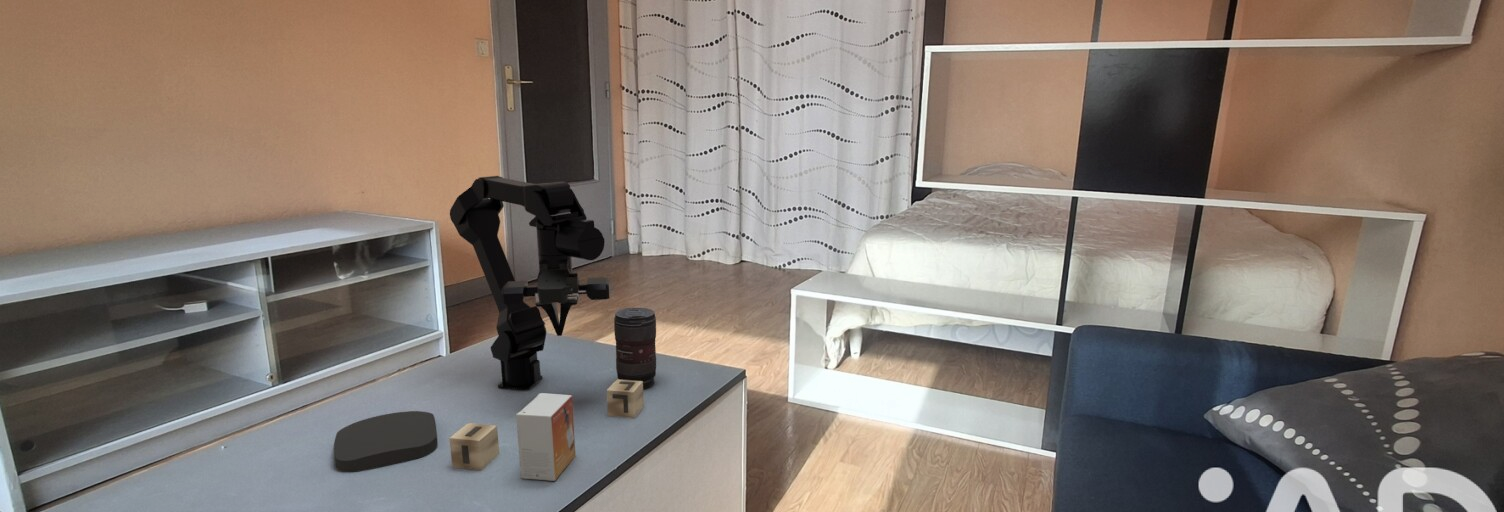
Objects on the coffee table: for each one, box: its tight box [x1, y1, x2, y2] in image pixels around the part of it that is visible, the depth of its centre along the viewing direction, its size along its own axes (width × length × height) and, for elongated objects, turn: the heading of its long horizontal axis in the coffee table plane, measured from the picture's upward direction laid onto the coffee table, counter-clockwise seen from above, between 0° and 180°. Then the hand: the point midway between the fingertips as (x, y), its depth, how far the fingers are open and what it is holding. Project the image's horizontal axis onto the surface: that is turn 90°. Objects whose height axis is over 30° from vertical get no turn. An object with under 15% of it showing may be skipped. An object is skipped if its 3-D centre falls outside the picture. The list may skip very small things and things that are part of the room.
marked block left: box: [448, 422, 500, 471], centre depth 106 cm, size 5×5×5 cm
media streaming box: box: [333, 410, 439, 473], centre depth 111 cm, size 15×15×3 cm
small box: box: [515, 392, 576, 482], centre depth 104 cm, size 8×6×10 cm
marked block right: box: [606, 378, 645, 419], centre depth 124 cm, size 5×5×5 cm
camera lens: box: [613, 307, 657, 390], centre depth 135 cm, size 8×8×15 cm
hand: (559, 335), depth 126 cm, fingers closed
